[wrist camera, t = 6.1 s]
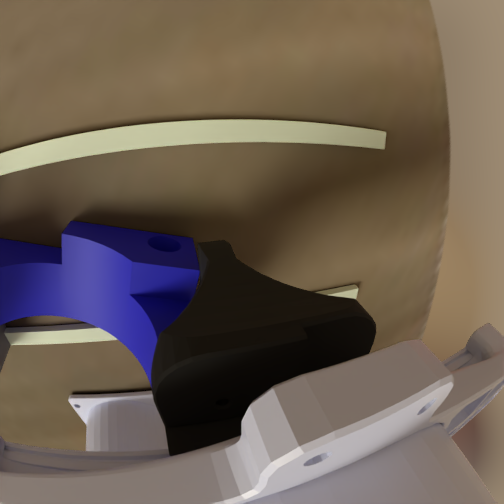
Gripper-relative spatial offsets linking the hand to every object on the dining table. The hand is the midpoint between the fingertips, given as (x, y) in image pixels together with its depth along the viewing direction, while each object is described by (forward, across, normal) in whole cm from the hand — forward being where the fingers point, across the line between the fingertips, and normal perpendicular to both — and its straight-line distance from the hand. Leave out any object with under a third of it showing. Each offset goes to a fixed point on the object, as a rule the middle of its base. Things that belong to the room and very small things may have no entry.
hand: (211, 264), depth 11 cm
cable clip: (+3, +7, +1) cm, 8 cm away
